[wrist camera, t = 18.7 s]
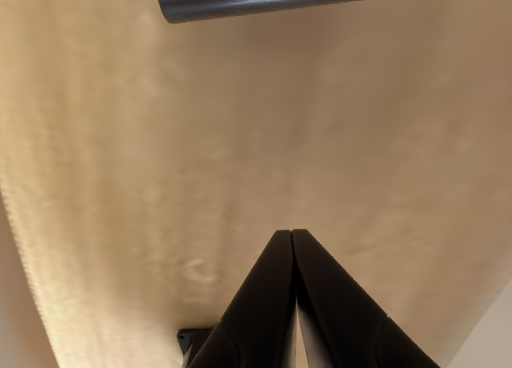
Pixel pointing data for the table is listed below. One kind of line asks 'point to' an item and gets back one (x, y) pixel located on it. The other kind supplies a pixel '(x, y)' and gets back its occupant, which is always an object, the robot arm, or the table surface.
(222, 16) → the drawer
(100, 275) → the table surface
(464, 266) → the table surface
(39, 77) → the table surface
